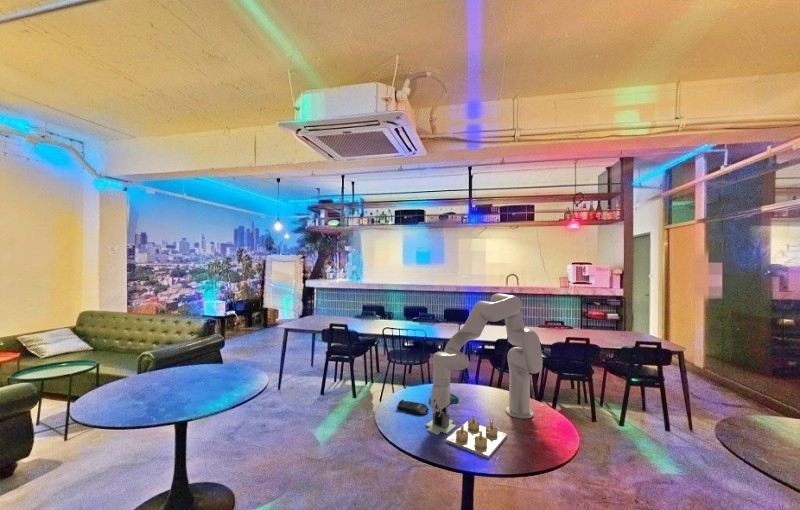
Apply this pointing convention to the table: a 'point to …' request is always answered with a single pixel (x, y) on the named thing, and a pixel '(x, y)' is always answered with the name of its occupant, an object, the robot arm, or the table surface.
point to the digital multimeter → (452, 398)
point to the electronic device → (412, 407)
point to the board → (438, 429)
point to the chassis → (477, 438)
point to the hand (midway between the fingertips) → (440, 422)
